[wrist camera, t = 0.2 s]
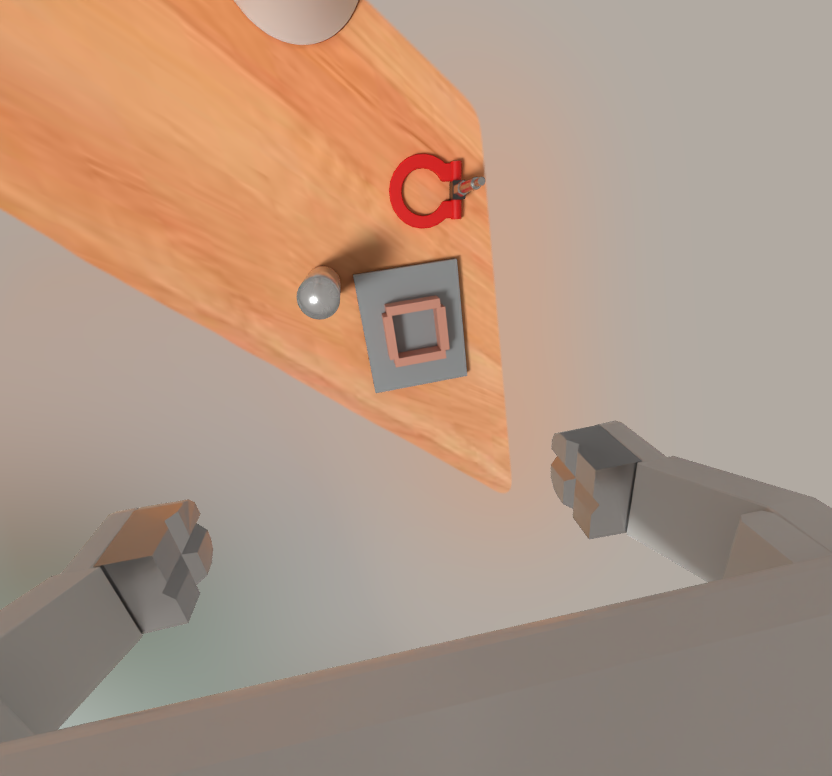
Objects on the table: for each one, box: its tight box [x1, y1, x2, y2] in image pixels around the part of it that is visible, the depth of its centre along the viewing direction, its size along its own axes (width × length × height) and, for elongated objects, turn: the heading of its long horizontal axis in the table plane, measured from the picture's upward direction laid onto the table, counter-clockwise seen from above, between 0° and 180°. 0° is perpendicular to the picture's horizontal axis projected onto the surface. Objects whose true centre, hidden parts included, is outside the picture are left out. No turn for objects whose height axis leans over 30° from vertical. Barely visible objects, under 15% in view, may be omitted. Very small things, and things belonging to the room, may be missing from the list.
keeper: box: [353, 258, 467, 393], centre depth 55 cm, size 17×14×4 cm
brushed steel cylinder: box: [297, 266, 341, 319], centre depth 47 cm, size 4×4×12 cm
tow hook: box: [389, 154, 485, 228], centre depth 45 cm, size 8×13×9 cm
